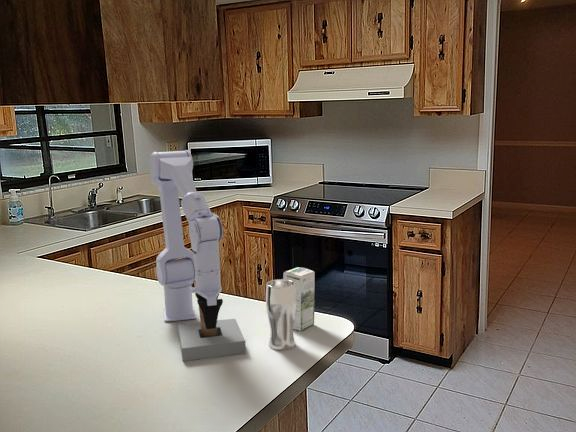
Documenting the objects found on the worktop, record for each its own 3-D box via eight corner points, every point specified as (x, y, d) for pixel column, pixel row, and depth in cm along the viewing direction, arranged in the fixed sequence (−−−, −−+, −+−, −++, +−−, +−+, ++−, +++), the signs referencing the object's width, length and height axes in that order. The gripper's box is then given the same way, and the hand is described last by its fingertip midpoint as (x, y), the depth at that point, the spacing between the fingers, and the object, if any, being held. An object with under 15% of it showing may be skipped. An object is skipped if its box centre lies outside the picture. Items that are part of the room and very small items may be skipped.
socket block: (178, 336, 134) (178, 324, 133) (235, 329, 137) (235, 318, 136) (182, 361, 120) (181, 348, 120) (245, 353, 124) (245, 340, 123)
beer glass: (271, 353, 123) (269, 289, 121) (264, 340, 130) (262, 280, 127) (300, 349, 125) (299, 286, 122) (292, 337, 132) (291, 277, 129)
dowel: (201, 333, 129) (198, 301, 128) (216, 331, 130) (213, 299, 128) (202, 339, 126) (199, 306, 124) (218, 337, 127) (214, 304, 125)
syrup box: (297, 319, 143) (296, 266, 140) (315, 324, 139) (314, 270, 136) (283, 326, 139) (282, 271, 136) (301, 332, 135) (300, 275, 132)
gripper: (187, 262, 131) (190, 315, 134) (192, 279, 117) (195, 339, 120) (216, 259, 133) (219, 312, 135) (225, 276, 119) (227, 335, 121)
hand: (209, 324), depth 128 cm, fingers closed on dowel, 4 cm apart
